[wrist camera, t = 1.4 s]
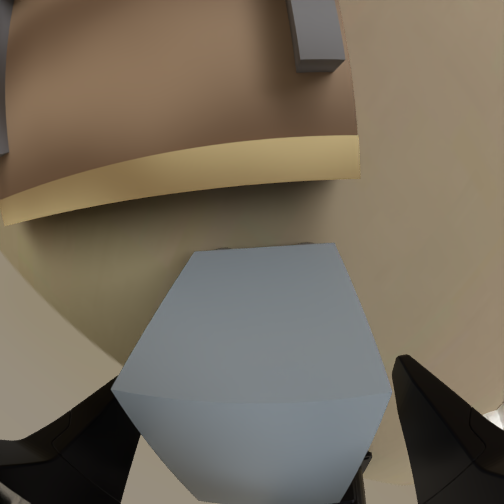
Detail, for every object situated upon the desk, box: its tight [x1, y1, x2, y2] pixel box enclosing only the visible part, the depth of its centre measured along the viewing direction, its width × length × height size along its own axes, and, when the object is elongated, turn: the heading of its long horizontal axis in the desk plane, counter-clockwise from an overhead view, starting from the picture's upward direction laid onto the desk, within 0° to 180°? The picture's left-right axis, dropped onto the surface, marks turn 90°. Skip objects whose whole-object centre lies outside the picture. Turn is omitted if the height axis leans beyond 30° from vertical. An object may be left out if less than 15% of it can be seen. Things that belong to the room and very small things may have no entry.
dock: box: [0, 0, 360, 226], centre depth 6 cm, size 14×14×4 cm
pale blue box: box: [111, 242, 392, 504], centre depth 9 cm, size 8×5×8 cm, turn 6°
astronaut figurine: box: [483, 403, 504, 430], centre depth 15 cm, size 9×12×3 cm
